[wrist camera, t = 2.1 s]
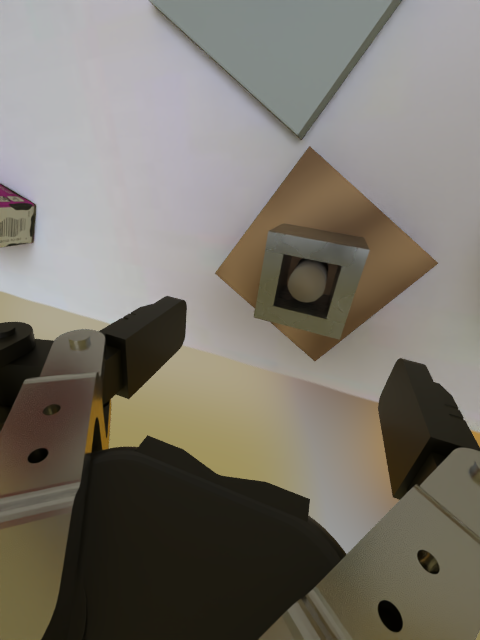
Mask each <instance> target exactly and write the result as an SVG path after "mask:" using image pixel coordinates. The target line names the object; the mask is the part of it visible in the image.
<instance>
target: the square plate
mask: <svg viewBox="0 0 480 640" xmlns="http://www.w3.org/2000/svg"><path fill="white" fill-rule="evenodd" d="M149 1H150V2H151V3H152V4H153V5H154V6H155V7H156V8H157V9H158V10H159V11H161V12H162V13H163V14H164V15H165V16H166V17H167V18H168V19H169V20H170V21H172V22H173V23H174V24H175V25H176V26H177V27H178V28H179V29H180V30H181V31H183V32H184V33H185V34H186V35H187V36H188V37H189V38H190V39H191V40H192V41H194V42H195V43H196V44H197V45H198V46H199V47H200V48H201V49H202V50H203V51H205V52H206V53H207V54H208V55H209V56H210V57H211V58H212V59H213V60H214V61H216V62H217V63H218V64H219V65H220V66H221V67H222V68H223V69H224V70H225V71H227V72H228V73H229V74H230V75H231V76H232V77H233V78H234V79H235V80H236V81H238V82H239V83H240V84H241V85H242V86H243V87H244V88H245V89H246V90H247V91H249V92H250V93H251V94H252V95H253V96H254V97H255V98H256V99H257V100H258V101H260V102H261V103H262V104H263V105H264V106H265V107H266V108H267V109H268V110H269V111H270V112H272V113H273V114H274V115H275V116H276V117H277V118H278V119H279V120H280V121H281V122H283V123H284V124H285V125H286V126H287V127H288V128H289V129H290V130H291V131H292V132H294V133H295V134H296V135H297V136H298V137H299V138H300V139H301V140H302V138H303V137H304V136H305V134H306V133H307V131H308V130H309V129H310V127H311V126H312V124H313V123H314V122H315V120H316V119H317V117H318V116H319V115H320V113H321V112H322V111H323V109H324V108H325V106H326V105H327V104H328V102H329V101H330V99H331V98H332V97H333V95H334V94H335V92H336V91H337V90H338V88H339V87H340V86H341V84H342V83H343V81H344V80H345V79H346V77H347V76H348V74H349V73H350V72H351V70H352V69H353V67H354V66H355V65H356V63H357V62H358V61H359V59H360V58H361V56H362V55H363V54H364V52H365V51H366V49H367V48H368V47H369V45H370V44H371V42H372V41H373V40H374V38H375V37H376V36H377V34H378V33H379V31H380V30H381V29H382V27H383V26H384V24H385V23H386V22H387V20H388V19H389V17H390V16H391V15H392V13H393V12H394V11H395V9H396V8H397V6H398V5H399V4H400V2H401V1H402V0H149Z"/></svg>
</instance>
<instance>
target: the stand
mask: <svg viewBox="0 0 480 640" xmlns="http://www.w3.org/2000/svg"><path fill="white" fill-rule="evenodd" d="M283 223H285V224H291V225H296V226H302V227H308V228H313V229H319V230H324V231H330V232H336V233H341V234H347V235H352V236H358V237H364V238H365V241H366V243H367V245H368V247H369V250H370V251H369V254H368V257H367V259H366V262H365V265H364V268H363V271H362V274H361V277H360V280H359V283H358V286H357V289H356V292H355V295H354V298H353V301H352V304H351V307H350V310H349V313H348V316H347V319H346V322H345V325H344V328H343V331H342V334H341V337H340V340H339V339H335V338H331V337H327V336H323V335H320V334H316V333H312V332H308V331H304V330H301V329H297V328H293V327H289V326H285V325H281V324H278V323H274V322H271V323H272V324H273V325H274V326H275V327H276V328H278V329H279V330H280V331H281V332H282V333H283V334H284V335H286V336H287V337H288V338H289V339H290V340H291V341H292V342H293V343H295V344H296V345H297V346H298V347H299V348H300V349H301V350H303V351H304V352H305V353H306V354H307V355H308V356H309V357H310V358H312V359H313V360H314V361H316V360H317V359H319V358H320V357H321V356H322V355H324V354H325V353H326V352H327V351H329V350H330V349H331V348H332V347H334V346H335V345H336V344H337V343H339V342H340V341H341V340H342V339H344V338H345V337H346V336H347V335H349V334H350V333H351V332H353V331H354V330H355V329H356V328H358V327H359V326H360V325H361V324H363V323H364V322H365V321H366V320H368V319H369V318H370V317H371V316H373V315H374V314H375V313H376V312H378V311H379V310H380V309H381V308H383V307H384V306H385V305H386V304H388V303H389V302H390V301H391V300H393V299H394V298H395V297H397V296H398V295H399V294H400V293H402V292H403V291H404V290H405V289H407V288H408V287H409V286H410V285H412V284H413V283H414V282H415V281H417V280H418V279H419V278H420V277H422V276H423V275H424V274H425V273H427V272H428V271H429V270H430V269H432V268H433V267H434V266H436V265H437V264H438V263H437V262H436V261H435V260H434V259H433V258H432V257H431V256H430V255H429V254H428V253H426V252H425V251H424V250H423V249H422V248H421V247H420V246H419V245H418V244H417V243H415V242H414V241H413V240H412V239H411V238H410V237H409V236H408V235H407V234H406V233H405V232H403V231H402V230H401V229H400V228H399V227H398V226H397V225H396V224H395V223H394V222H392V221H391V220H390V219H389V218H388V217H387V216H386V215H385V214H384V213H383V212H381V211H380V210H379V209H378V208H377V207H376V206H375V205H374V204H373V203H372V202H370V201H369V200H368V199H367V198H366V197H365V196H364V195H363V194H362V193H361V192H359V191H358V190H357V189H356V188H355V187H354V186H353V185H352V184H351V183H350V182H348V181H347V180H346V179H345V178H344V177H343V176H342V175H341V174H340V173H339V172H337V171H336V170H335V169H334V168H333V167H332V166H331V165H330V164H329V163H328V162H326V161H325V160H324V159H323V158H322V157H321V156H320V155H319V154H318V153H317V152H315V151H314V150H313V149H312V148H311V147H310V146H309V148H308V149H307V150H306V152H305V153H304V154H303V156H302V157H301V158H300V160H299V161H298V163H297V164H296V165H295V167H294V168H293V169H292V171H291V172H290V173H289V175H288V176H287V177H286V179H285V180H284V181H283V183H282V184H281V185H280V187H279V188H278V189H277V191H276V192H275V193H274V195H273V196H272V197H271V199H270V200H269V202H268V203H267V204H266V206H265V207H264V208H263V210H262V211H261V212H260V214H259V215H258V216H257V218H256V219H255V220H254V222H253V223H252V224H251V226H250V227H249V228H248V230H247V231H246V232H245V234H244V235H243V236H242V238H241V239H240V241H239V242H238V243H237V245H236V246H235V247H234V249H233V250H232V251H231V253H230V254H229V255H228V257H227V258H226V259H225V261H224V262H223V263H222V265H221V266H220V267H219V269H218V270H217V271H216V273H215V274H216V275H218V276H219V277H220V278H221V279H222V280H223V281H224V282H226V283H227V284H228V285H229V286H230V287H231V288H232V289H233V290H235V291H236V292H237V293H238V294H239V295H240V296H241V297H243V298H244V299H245V300H246V301H247V302H248V303H249V304H250V305H252V306H253V307H254V308H255V307H256V302H257V296H258V290H259V284H260V278H261V272H262V266H263V260H264V254H265V248H266V242H267V236H268V231H269V230H271V229H273V228H275V227H277V226H279V225H281V224H283ZM337 268H338V265H335V264H330V263H325V262H320V261H315V260H310V259H305V258H300V257H295V256H292V259H291V264H290V268H289V273H288V278H287V282H286V285H287V286H288V289H289V292H290V293H291V295H292V296H293V297H294V298H295V299H297V300H298V301H301V302H312V301H315V300H317V299H318V298H319V297H320V296H321V295H322V294H327V295H330V292H331V288H332V285H333V281H334V278H335V274H336V271H337Z"/></svg>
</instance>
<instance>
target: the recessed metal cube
mask: <svg viewBox="0 0 480 640" xmlns="http://www.w3.org/2000/svg"><path fill="white" fill-rule="evenodd" d="M369 251H370V250H369V247H368V245H367V243H366V241H365V238H364V237H358V236H352V235H347V234H341V233H336V232H330V231H324V230H319V229H313V228H308V227H302V226H296V225H291V224H285V223H283V224H281V225H279V226H277V227H275V228H273V229H271V230H269V231H268V236H267V242H266V248H265V254H264V260H263V266H262V272H261V278H260V284H259V290H258V296H257V302H256V307H255V313H254V317H255V318H259V319H262V320H266V321H270V322H274V323H278V324H281V325H285V326H289V327H293V328H297V329H301V330H304V331H308V332H312V333H316V334H320V335H323V336H327V337H331V338H335V339H339V340H340V337H341V334H342V331H343V328H344V325H345V322H346V319H347V316H348V313H349V310H350V307H351V304H352V301H353V298H354V295H355V292H356V289H357V286H358V283H359V280H360V277H361V274H362V271H363V268H364V265H365V262H366V259H367V257H368V254H369ZM292 256H295V257H300V258H305V259H310V260H315V261H320V262H325V263H330V264H335V265H338V268H337V271H336V274H335V278H334V281H333V285H332V288H331V292H330V295H327V294H322V295H321V296H320V297H319V298H318V299H317V300H315V301H312V302H301V301H298V300H297V299H295V298H294V297H293V296H292V295H291V293H290V292H289V289H288V286H287V285H286V282H287V278H288V273H289V268H290V264H291V259H292Z"/></svg>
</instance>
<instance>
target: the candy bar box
mask: <svg viewBox="0 0 480 640" xmlns="http://www.w3.org/2000/svg"><path fill="white" fill-rule="evenodd" d="M34 218H35V205H34V204H33V203H31V202H30V201H28V200H26V199H25V198H23V197H21V196H20V195H18V194H16V193H15V192H13V191H11V190H9V189H8V188H6V187H4V186H3V185H1V184H0V247H6V246H13V245H20V244H26V243H32V241H33V228H34Z"/></svg>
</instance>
